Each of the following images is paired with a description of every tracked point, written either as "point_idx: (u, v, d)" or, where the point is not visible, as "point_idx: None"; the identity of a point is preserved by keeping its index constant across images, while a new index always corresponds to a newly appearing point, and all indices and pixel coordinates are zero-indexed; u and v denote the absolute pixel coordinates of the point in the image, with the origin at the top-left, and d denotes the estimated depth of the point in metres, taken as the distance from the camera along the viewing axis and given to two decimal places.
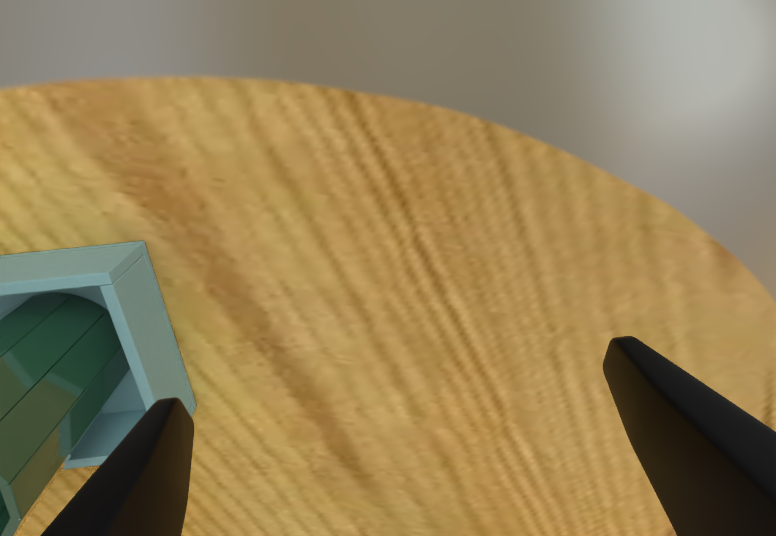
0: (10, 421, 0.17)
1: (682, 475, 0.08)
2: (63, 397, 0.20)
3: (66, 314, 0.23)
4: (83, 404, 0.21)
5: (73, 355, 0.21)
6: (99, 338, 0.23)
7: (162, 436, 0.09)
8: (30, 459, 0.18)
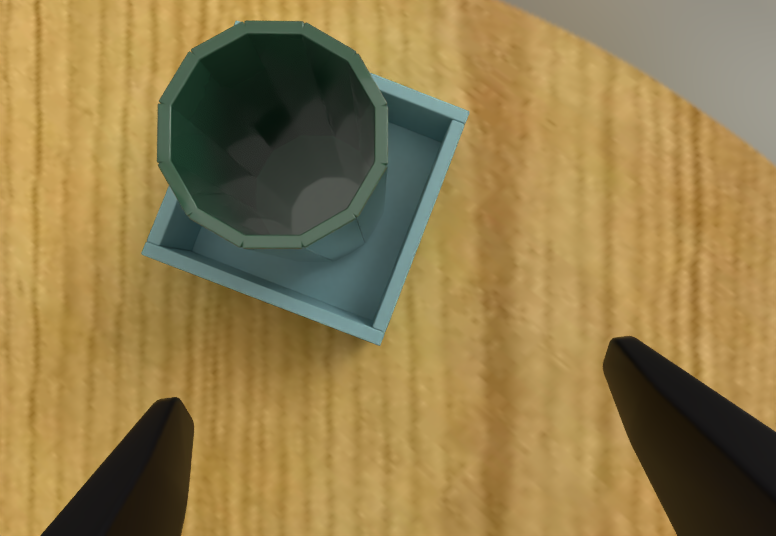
0: None
1: (682, 475, 0.08)
2: None
3: None
4: (379, 206, 0.18)
5: None
6: None
7: (162, 436, 0.09)
8: (384, 176, 0.15)
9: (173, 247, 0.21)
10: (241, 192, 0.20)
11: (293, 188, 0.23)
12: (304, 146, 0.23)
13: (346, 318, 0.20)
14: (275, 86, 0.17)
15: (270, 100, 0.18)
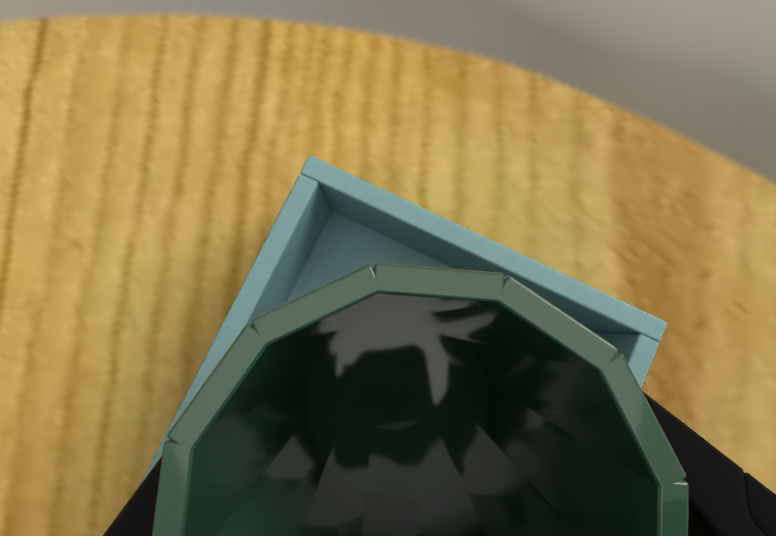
0: None
1: None
2: None
3: None
4: None
5: None
6: None
7: None
8: None
9: None
10: (292, 424, 0.13)
11: (364, 390, 0.15)
12: (385, 327, 0.15)
13: None
14: (380, 302, 0.10)
15: (364, 312, 0.10)
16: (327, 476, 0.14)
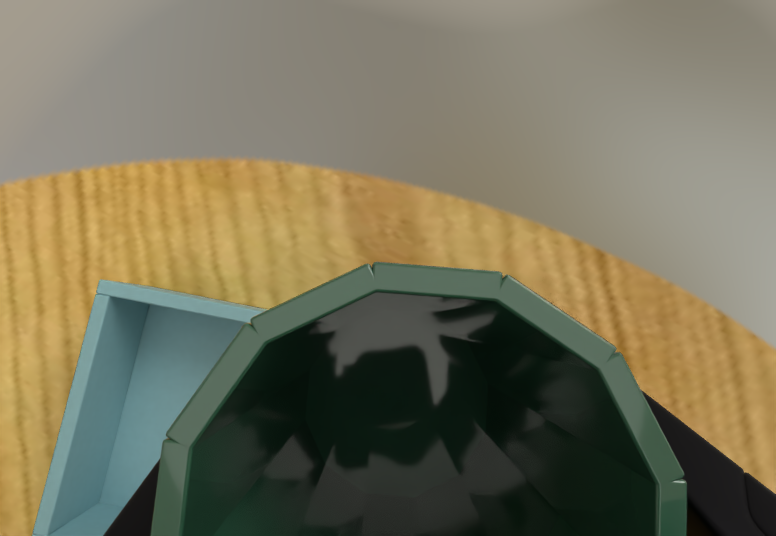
0: None
1: None
2: None
3: None
4: None
5: None
6: None
7: None
8: None
9: (69, 521, 0.20)
10: (291, 424, 0.13)
11: (363, 389, 0.15)
12: (384, 326, 0.15)
13: None
14: (379, 302, 0.10)
15: (362, 311, 0.10)
16: (326, 476, 0.14)
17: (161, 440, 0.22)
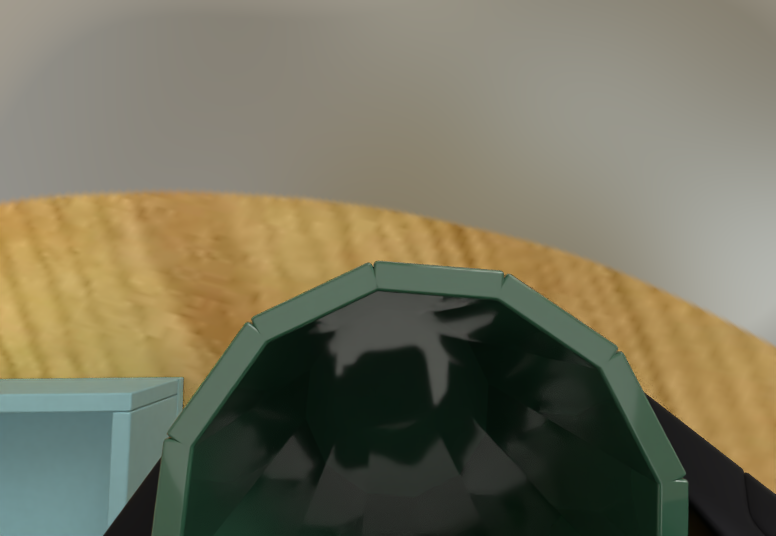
0: None
1: None
2: None
3: None
4: None
5: None
6: None
7: None
8: None
9: None
10: (291, 423, 0.13)
11: (364, 389, 0.15)
12: (385, 326, 0.15)
13: None
14: (380, 301, 0.10)
15: (363, 311, 0.10)
16: (327, 475, 0.14)
17: None
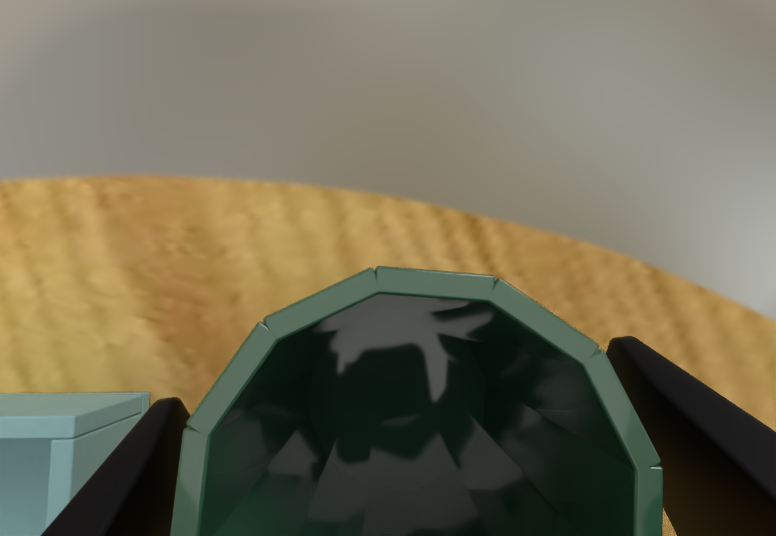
0: None
1: (682, 475, 0.08)
2: None
3: None
4: None
5: None
6: None
7: (162, 436, 0.09)
8: None
9: None
10: (296, 418, 0.13)
11: (365, 386, 0.16)
12: (385, 325, 0.16)
13: None
14: (381, 302, 0.10)
15: (365, 311, 0.11)
16: (329, 469, 0.15)
17: None
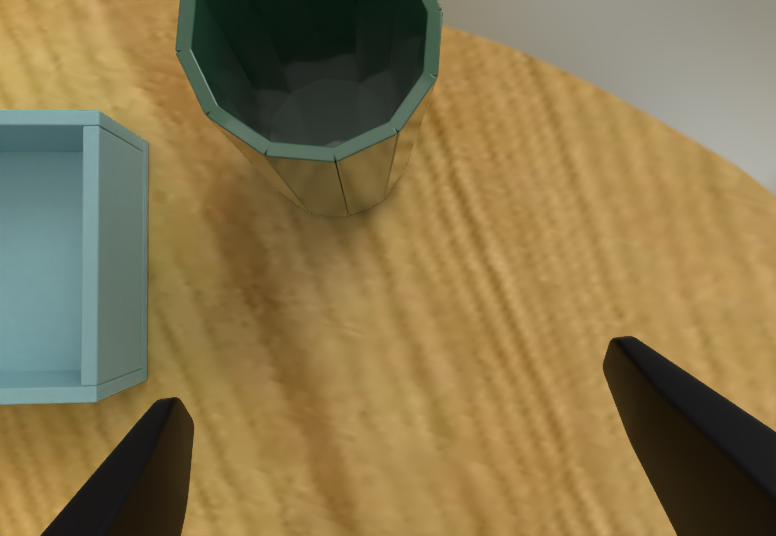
0: None
1: (682, 475, 0.08)
2: None
3: None
4: (409, 147, 0.17)
5: None
6: None
7: (162, 436, 0.09)
8: (428, 97, 0.13)
9: None
10: (257, 126, 0.18)
11: (311, 134, 0.21)
12: (326, 90, 0.21)
13: (48, 387, 0.17)
14: (308, 3, 0.16)
15: (299, 20, 0.16)
16: None
17: None
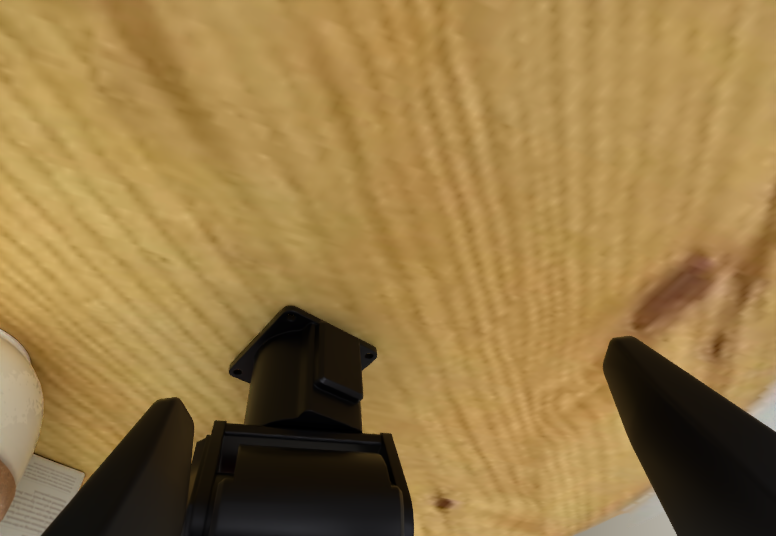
0: None
1: (682, 475, 0.08)
2: None
3: None
4: None
5: None
6: None
7: (162, 436, 0.09)
8: None
9: None
10: None
11: None
12: None
13: None
14: None
15: None
16: None
17: None
